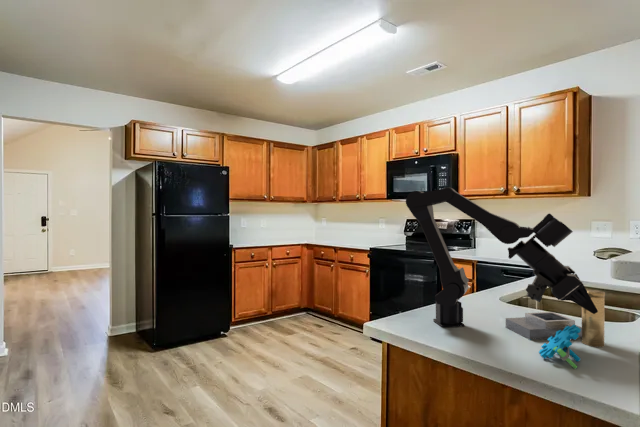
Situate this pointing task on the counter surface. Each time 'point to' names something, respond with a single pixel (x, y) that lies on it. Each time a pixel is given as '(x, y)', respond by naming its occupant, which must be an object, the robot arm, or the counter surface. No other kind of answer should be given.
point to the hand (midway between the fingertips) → (593, 308)
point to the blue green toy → (562, 345)
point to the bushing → (594, 321)
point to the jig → (540, 325)
